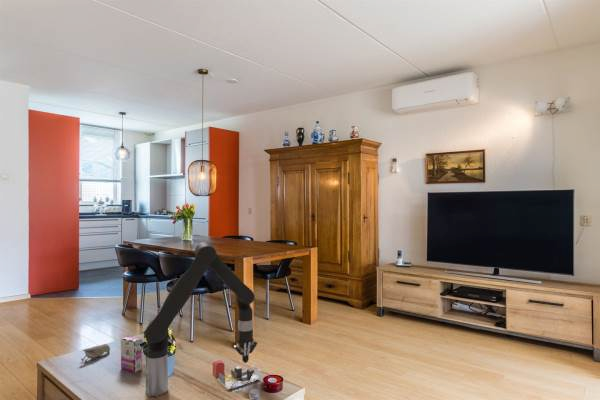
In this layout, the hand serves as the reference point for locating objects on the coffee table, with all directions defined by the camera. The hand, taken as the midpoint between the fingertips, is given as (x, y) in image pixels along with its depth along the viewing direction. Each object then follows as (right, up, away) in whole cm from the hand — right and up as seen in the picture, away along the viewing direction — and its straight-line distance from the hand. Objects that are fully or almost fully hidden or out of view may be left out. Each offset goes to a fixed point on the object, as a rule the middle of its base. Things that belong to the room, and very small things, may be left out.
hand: (245, 362), depth 191 cm
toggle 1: (-3, -5, -3) cm, 7 cm away
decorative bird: (-88, -8, +23) cm, 92 cm away
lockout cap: (-14, -7, +1) cm, 16 cm away
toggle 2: (+3, -5, -5) cm, 8 cm away
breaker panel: (-3, -7, -5) cm, 9 cm away
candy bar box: (-62, -8, +8) cm, 63 cm away
